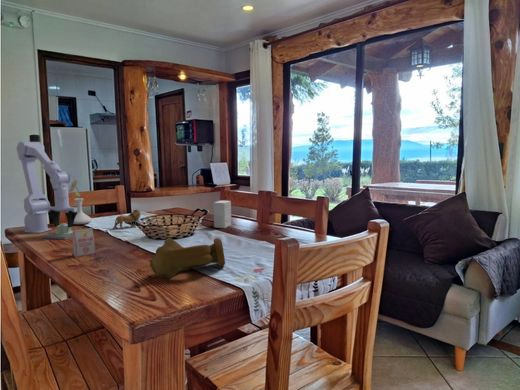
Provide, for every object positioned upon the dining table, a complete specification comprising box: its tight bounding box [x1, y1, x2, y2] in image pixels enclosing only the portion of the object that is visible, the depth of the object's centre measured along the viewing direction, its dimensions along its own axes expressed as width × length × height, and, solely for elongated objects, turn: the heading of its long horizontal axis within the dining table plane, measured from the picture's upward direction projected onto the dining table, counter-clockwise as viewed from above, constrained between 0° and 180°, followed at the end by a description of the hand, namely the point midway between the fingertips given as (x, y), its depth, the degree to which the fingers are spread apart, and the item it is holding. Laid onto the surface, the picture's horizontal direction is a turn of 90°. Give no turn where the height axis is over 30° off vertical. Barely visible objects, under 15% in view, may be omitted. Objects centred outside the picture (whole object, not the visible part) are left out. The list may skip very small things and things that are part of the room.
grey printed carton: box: [72, 227, 96, 258], centre depth 138 cm, size 4×7×10 cm, turn 129°
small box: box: [213, 200, 232, 229], centre depth 187 cm, size 8×6×13 cm
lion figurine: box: [112, 208, 142, 230], centre depth 185 cm, size 15×5×9 cm, turn 131°
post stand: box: [42, 222, 74, 240], centre depth 170 cm, size 12×13×6 cm
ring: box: [56, 223, 72, 234], centre depth 170 cm, size 6×6×3 cm
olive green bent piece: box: [149, 237, 226, 279], centre depth 119 cm, size 18×13×22 cm
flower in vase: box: [68, 178, 93, 225], centre depth 194 cm, size 13×11×25 cm
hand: (63, 226), depth 169 cm, fingers open, 7 cm apart
